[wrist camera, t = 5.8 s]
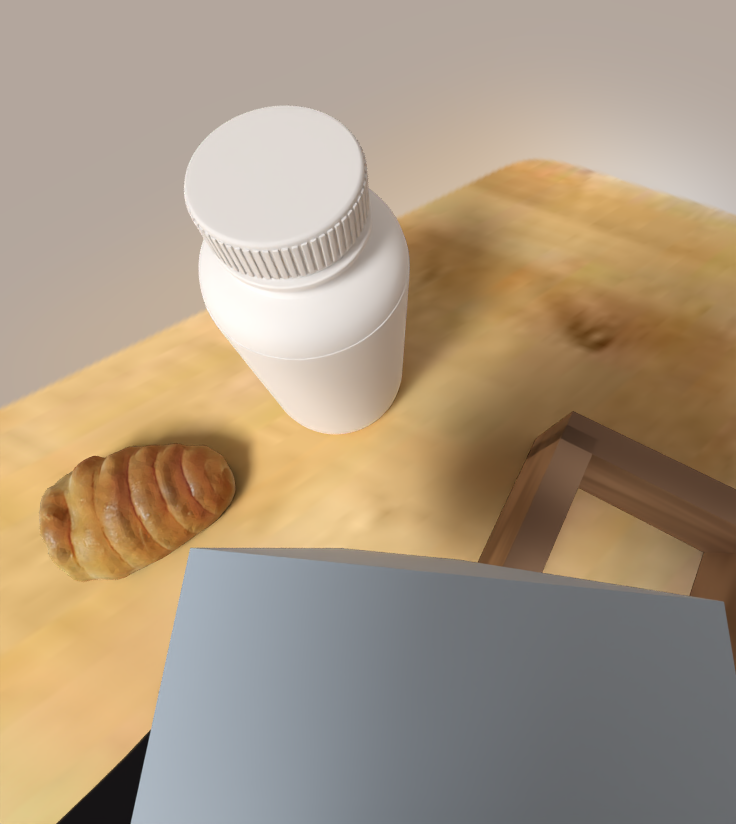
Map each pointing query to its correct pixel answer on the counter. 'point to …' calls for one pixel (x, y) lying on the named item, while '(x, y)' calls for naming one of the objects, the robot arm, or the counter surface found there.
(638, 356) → the counter surface
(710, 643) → the block
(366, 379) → the pill bottle
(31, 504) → the counter surface
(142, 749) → the robot arm
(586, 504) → the counter surface
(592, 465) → the brown wooden tray
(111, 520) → the pastry
